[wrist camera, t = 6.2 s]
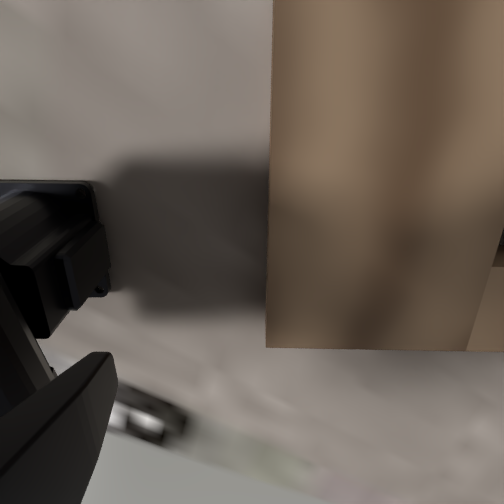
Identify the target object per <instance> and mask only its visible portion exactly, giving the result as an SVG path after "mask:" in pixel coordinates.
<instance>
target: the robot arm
mask: <svg viewBox="0 0 504 504" xmlns="http://www.w3.org/2000/svg"><path fill="white" fill-rule="evenodd" d="M79 189H83V190H84V191H85V193H86V196H82V195H81V194H80V192H79ZM110 268H111V263H110V258H109V252H108V246H107V240H106V234H105V228H104V225H103V224H102V223H101V222H100V221H99V217H98V211H97V206H96V200H95V194H94V190H93V188H92V186H91V185H90V184H88V183H87V182H82V181H0V504H81V502H82V499H83V496H84V494H85V491H86V489H87V486H88V484H89V481H90V479H91V476H92V474H93V471H94V468H95V465H96V463H97V460H98V457H99V454H100V450H101V447H102V444H103V440H104V437H105V433H106V429H107V426H108V422H109V418H110V415H111V411H112V407H113V404H114V400H115V396H116V393H117V388H118V378H117V373H116V369H115V364H114V359H113V355H112V354H111V353H110V352H92V353H90V354H88V355H87V356H85V357H84V358H83V359H81V360H80V361H78V362H77V363H76V364H74V365H73V366H71V367H70V368H69V369H67V370H66V371H64V372H63V373H62V374H60V375H59V376H57V374H56V372H55V370H54V368H53V367H50V366H49V364H48V362H47V360H46V358H45V356H44V354H43V352H42V350H41V348H40V346H39V345H38V343H37V341H36V339H46V338H49V337H50V336H51V335H52V333H53V332H54V331H55V329H56V328H57V327H58V326H59V324H60V323H61V322H62V320H63V319H64V318H65V317H66V315H67V314H68V313H69V312H70V310H73V311H77V310H78V309H79V308H80V307H81V306H82V305H83V304H84V302H85V301H86V300H87V298H88V297H104V296H106V295H107V294H108V292H109V291H110V289H111V285H110V279H109V274H108V270H109V269H110ZM98 286H101V287H103V289H104V290H101V289H99V288H98Z"/></svg>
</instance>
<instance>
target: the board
mask: <svg viewBox="0 0 504 504" xmlns="http://www.w3.org/2000/svg"><path fill="white" fill-rule="evenodd" d="M503 229H504V0H273V29H272V70H271V111H270V152H269V193H268V234H267V275H266V316H265V326H266V348H317V349H371V350H424V351H478V352H504V245H499V242H500V238H501V235H502V232H503Z"/></svg>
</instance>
